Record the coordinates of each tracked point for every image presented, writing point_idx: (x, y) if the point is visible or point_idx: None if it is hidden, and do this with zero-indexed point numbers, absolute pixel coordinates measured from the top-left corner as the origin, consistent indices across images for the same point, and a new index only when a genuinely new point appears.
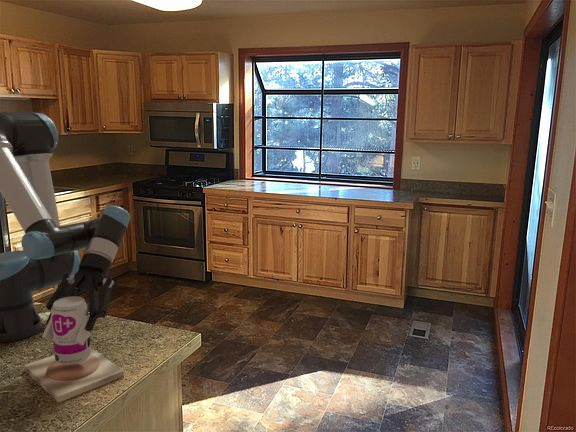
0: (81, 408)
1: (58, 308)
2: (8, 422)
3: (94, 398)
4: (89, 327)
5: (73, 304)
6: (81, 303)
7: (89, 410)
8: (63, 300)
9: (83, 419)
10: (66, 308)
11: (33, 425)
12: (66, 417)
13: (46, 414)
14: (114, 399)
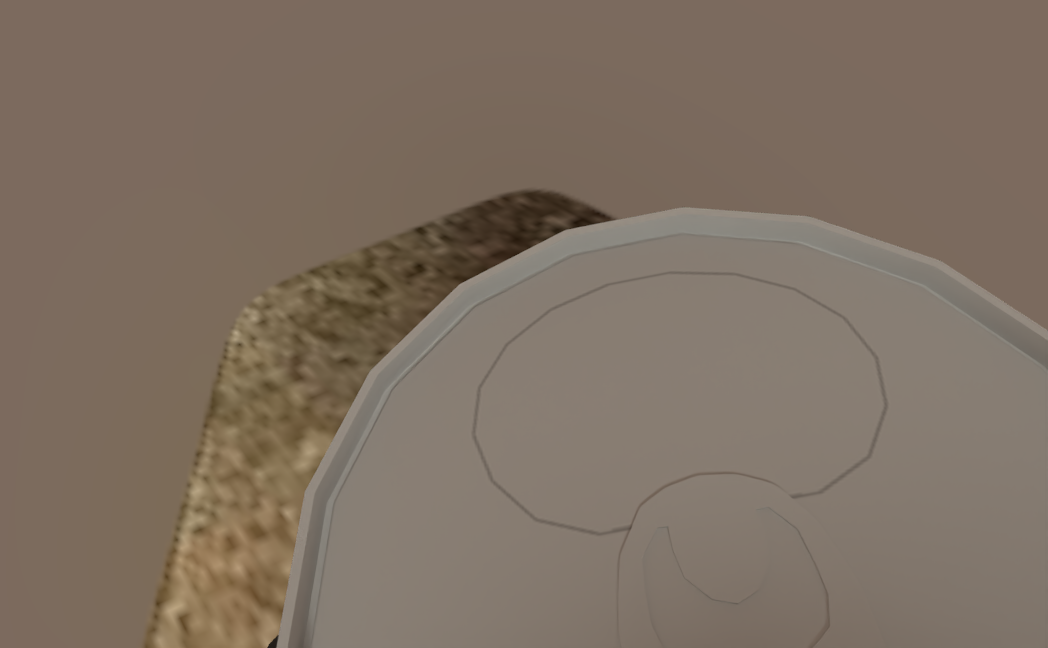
0: (306, 404)
1: (656, 235)
2: (555, 201)
3: (292, 506)
4: (273, 644)
5: (481, 498)
6: (284, 628)
7: (255, 409)
8: (1038, 614)
9: (243, 346)
10: (489, 294)
11: (434, 231)
12: (332, 324)
13: (441, 301)
14: (169, 549)
